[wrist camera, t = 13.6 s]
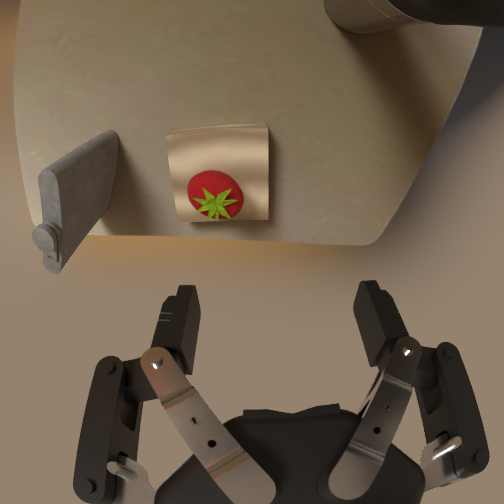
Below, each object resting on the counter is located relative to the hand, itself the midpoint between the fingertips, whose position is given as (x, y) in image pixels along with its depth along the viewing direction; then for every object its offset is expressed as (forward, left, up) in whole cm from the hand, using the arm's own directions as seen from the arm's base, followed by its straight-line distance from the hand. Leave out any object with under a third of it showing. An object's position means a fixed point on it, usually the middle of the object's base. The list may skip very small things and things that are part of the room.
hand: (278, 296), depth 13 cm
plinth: (+5, -6, -32) cm, 33 cm away
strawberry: (+5, -6, -28) cm, 29 cm away
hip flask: (+4, -26, -32) cm, 42 cm away
